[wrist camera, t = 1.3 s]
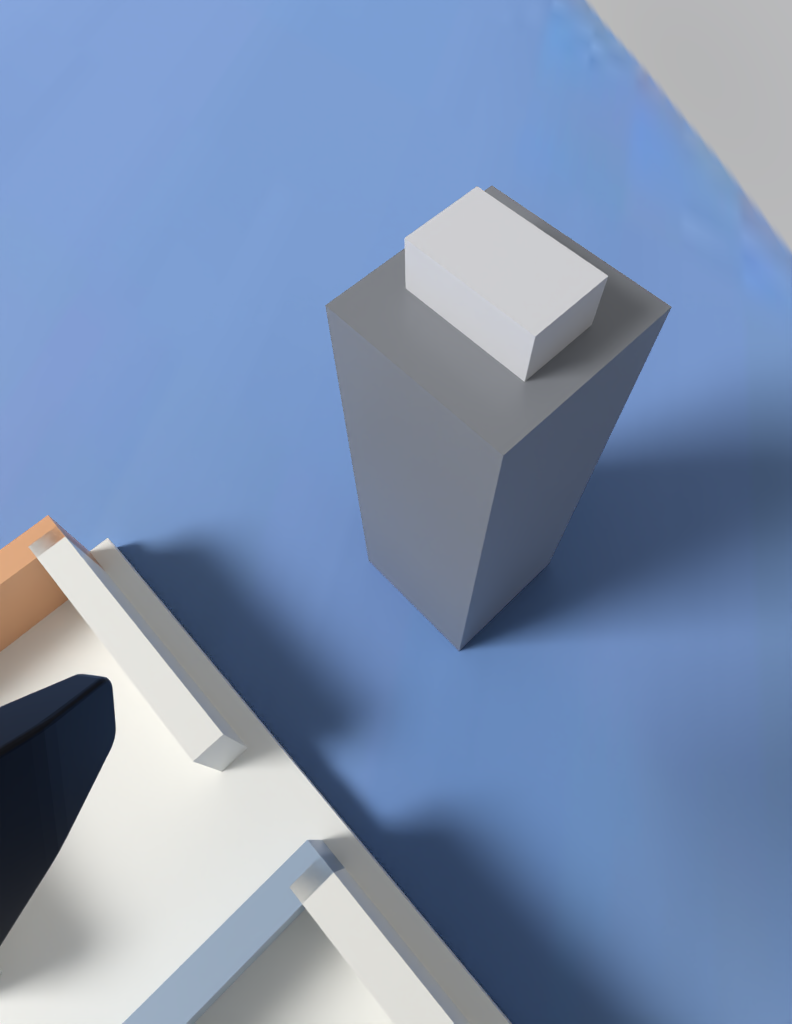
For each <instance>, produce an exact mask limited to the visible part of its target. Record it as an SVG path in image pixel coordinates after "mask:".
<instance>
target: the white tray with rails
mask: <svg viewBox="0 0 792 1024" xmlns="http://www.w3.org/2000/svg"><path fill="white" fill-rule="evenodd" d="M76 674H88V675H96V676H103V677H107V678H108V679H109V680H110V681H111V683H112V687H113V697H114V709H115V722H116V734H115V739H114V743H113V746H112V748H111V750H110V752H109V754H108V756H107V758H106V760H105V762H104V764H103V766H102V768H101V770H100V772H99V774H98V776H97V778H96V780H95V782H94V784H93V786H92V788H91V790H90V792H89V794H88V796H87V798H86V800H85V802H84V804H83V806H82V808H81V810H80V813H79V815H78V817H77V819H76V821H75V823H74V825H73V827H72V829H71V831H70V833H69V835H68V836H67V838H66V840H65V842H64V844H63V846H62V848H61V850H60V851H59V853H58V855H57V857H56V858H55V860H54V862H53V863H52V865H51V867H50V868H49V870H48V871H47V873H46V875H45V876H44V878H43V879H42V881H41V883H40V884H39V886H38V887H37V889H36V891H35V892H34V894H33V895H32V897H31V898H30V900H29V902H28V903H27V905H26V906H25V908H24V910H23V911H22V913H21V914H20V916H19V917H18V919H17V921H16V922H15V924H14V925H13V927H12V929H11V930H10V932H9V933H8V935H7V936H6V938H5V940H4V941H3V943H2V944H1V946H0V1024H512V1023H511V1022H510V1021H509V1019H508V1018H507V1017H506V1016H505V1015H504V1013H503V1012H502V1011H501V1010H500V1009H499V1007H498V1006H497V1005H496V1004H495V1002H494V1001H493V1000H492V999H491V998H490V996H489V995H488V994H487V993H486V992H485V990H484V989H483V988H482V987H481V986H480V984H479V983H478V982H477V981H476V980H475V978H474V977H473V976H472V975H471V974H470V972H469V971H468V970H467V969H466V968H465V966H464V965H463V964H462V963H461V961H460V960H459V959H458V958H457V957H456V955H455V954H454V953H453V952H452V951H451V949H450V948H449V947H448V946H447V945H446V943H445V942H444V941H443V940H442V939H441V937H440V936H439V935H438V934H437V933H436V931H435V930H434V929H433V928H432V927H431V925H430V924H429V923H428V922H427V920H426V919H425V918H424V917H423V916H422V914H421V913H420V912H419V911H418V910H417V908H416V907H415V906H414V905H413V904H412V902H411V901H410V900H409V899H408V898H407V896H406V895H405V894H404V893H403V892H402V890H401V889H400V888H399V887H398V886H397V884H396V883H395V882H394V881H393V879H392V878H391V877H390V876H389V875H388V873H387V872H386V871H385V870H384V869H383V867H382V866H381V865H380V864H379V863H378V861H377V860H376V859H375V858H374V857H373V855H372V854H371V853H370V852H369V851H368V849H367V848H366V847H365V846H364V845H363V843H362V842H361V841H360V840H359V838H358V837H357V836H356V835H355V834H354V832H353V831H352V830H351V829H350V828H349V826H348V825H347V824H346V823H345V822H344V820H343V819H342V818H341V817H340V816H339V814H338V813H337V812H336V811H335V810H334V808H333V807H332V806H331V805H330V804H329V802H328V801H327V800H326V799H325V797H324V796H323V795H322V794H321V793H320V791H319V790H318V789H317V788H316V787H315V785H314V784H313V783H312V782H311V781H310V779H309V778H308V777H307V776H306V775H305V773H304V772H303V771H302V770H301V769H300V767H299V766H298V765H297V764H296V763H295V761H294V760H293V759H292V758H291V756H290V755H289V754H288V753H287V752H286V750H285V749H284V748H283V747H282V746H281V744H280V743H279V742H278V741H277V740H276V738H275V737H274V736H273V735H272V734H271V732H270V731H269V730H268V729H267V728H266V726H265V725H264V724H263V723H262V722H261V720H260V719H259V718H258V717H257V716H256V714H255V713H254V712H253V711H252V709H251V708H250V707H249V706H248V705H247V703H246V702H245V701H244V700H243V699H242V697H241V696H240V695H239V694H238V693H237V691H236V690H235V689H234V688H233V687H232V685H231V684H230V683H229V682H228V681H227V679H226V678H225V677H224V676H223V675H222V673H221V672H220V671H219V670H218V668H217V667H216V666H215V665H214V664H213V662H212V661H211V660H210V659H209V658H208V656H207V655H206V654H205V653H204V652H203V650H202V649H201V648H200V647H199V646H198V644H197V643H196V642H195V641H194V640H193V638H192V637H191V636H190V635H189V634H188V632H187V631H186V630H185V629H184V627H183V626H182V625H181V624H180V623H179V621H178V620H177V619H176V618H175V617H174V615H173V614H172V613H171V612H170V611H169V609H168V608H167V607H166V606H165V605H164V603H163V602H162V601H161V600H160V599H159V597H158V596H157V595H156V594H155V593H154V591H153V590H152V589H151V588H150V586H149V585H148V584H147V583H146V582H145V580H144V579H143V578H142V577H141V576H140V574H139V573H138V572H137V571H136V570H135V568H134V567H133V566H132V565H131V564H130V562H129V561H128V560H127V559H126V558H125V556H124V555H123V554H122V553H121V552H120V550H119V549H118V548H117V547H116V546H115V545H114V544H113V543H112V542H111V541H110V540H109V539H108V538H107V539H106V540H104V541H103V542H102V543H100V544H99V545H98V546H96V547H95V548H94V549H92V550H91V551H90V552H89V551H88V550H87V549H86V548H85V547H84V546H83V545H81V544H80V543H79V542H78V541H77V540H76V539H75V538H73V537H72V536H71V535H70V534H69V533H68V532H67V531H66V530H64V529H63V528H62V527H61V526H60V525H59V524H58V523H57V522H55V521H54V520H53V519H52V518H51V517H50V516H49V515H48V516H46V517H45V518H44V519H42V520H41V521H40V522H38V523H37V524H35V525H34V526H33V527H31V528H30V529H28V530H27V531H26V532H24V533H23V534H22V535H20V536H19V537H17V538H16V539H15V540H13V541H12V542H11V543H9V544H8V545H6V546H5V547H4V548H2V549H1V550H0V707H1V706H3V705H5V704H8V703H10V702H12V701H15V700H17V699H19V698H22V697H24V696H27V695H29V694H31V693H34V692H36V691H38V690H41V689H43V688H45V687H48V686H50V685H52V684H55V683H57V682H60V681H62V680H64V679H67V678H69V677H71V676H74V675H76Z"/></svg>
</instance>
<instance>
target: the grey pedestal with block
mask: <svg viewBox="0 0 792 1024" xmlns="http://www.w3.org/2000/svg"><path fill="white" fill-rule="evenodd" d="M325 306H326V312H327V317H328V323H329V329H330V335H331V341H332V347H333V353H334V359H335V365H336V370H337V376H338V382H339V388H340V394H341V400H342V406H343V412H344V418H345V423H346V429H347V435H348V441H349V447H350V453H351V459H352V465H353V471H354V476H355V482H356V488H357V494H358V500H359V506H360V512H361V518H362V524H363V529H364V535H365V541H366V547H367V553H368V559H369V561H370V562H371V563H372V564H373V565H374V566H375V567H376V568H377V569H378V570H379V571H380V572H381V573H382V574H383V575H384V576H385V577H386V578H387V579H388V580H389V581H390V582H391V583H392V584H393V585H394V586H395V587H396V588H397V589H398V590H399V591H400V592H401V593H402V594H403V595H404V596H405V597H406V598H407V599H408V600H409V601H410V602H411V603H412V604H413V605H414V606H415V607H416V608H417V609H418V610H419V611H420V612H421V613H422V614H423V615H424V616H425V617H426V618H427V619H428V620H429V621H430V622H431V623H432V624H433V625H434V626H435V627H436V628H437V629H438V630H439V631H440V632H441V633H442V634H443V635H444V636H445V637H446V638H447V639H448V640H449V641H450V642H451V643H452V644H453V645H454V646H455V647H456V648H457V649H458V650H459V651H460V650H461V649H462V648H463V647H464V646H465V645H466V644H467V643H468V642H469V641H470V640H471V639H472V638H473V637H474V636H475V635H476V634H477V633H478V632H479V631H480V630H481V629H482V628H483V627H484V626H485V625H486V624H488V623H489V622H490V621H491V620H492V619H493V618H494V617H495V616H496V615H497V614H498V613H499V612H500V611H501V610H502V609H503V608H504V607H505V606H506V605H507V604H508V603H509V602H510V601H511V600H512V599H513V598H514V597H515V596H516V595H517V594H518V593H519V592H520V591H521V590H522V589H524V588H525V587H526V586H527V585H528V584H529V583H530V582H531V581H532V580H533V579H534V578H535V577H536V576H537V575H538V574H539V573H540V572H541V571H542V570H543V569H544V568H545V567H546V566H547V565H548V564H549V562H550V560H551V558H552V556H553V554H554V552H555V550H556V548H557V546H558V544H559V541H560V539H561V537H562V535H563V533H564V531H565V529H566V527H567V525H568V523H569V521H570V518H571V516H572V514H573V512H574V510H575V508H576V506H577V504H578V502H579V500H580V498H581V495H582V493H583V491H584V489H585V487H586V485H587V483H588V481H589V479H590V477H591V475H592V472H593V470H594V468H595V466H596V464H597V462H598V460H599V458H600V456H601V454H602V452H603V449H604V447H605V445H606V443H607V441H608V439H609V437H610V435H611V433H612V431H613V428H614V426H615V424H616V422H617V420H618V418H619V416H620V414H621V412H622V410H623V408H624V405H625V403H626V401H627V399H628V397H629V395H630V393H631V391H632V389H633V387H634V385H635V382H636V380H637V378H638V376H639V374H640V372H641V370H642V368H643V366H644V364H645V362H646V359H647V357H648V355H649V353H650V351H651V349H652V347H653V345H654V343H655V341H656V339H657V336H658V334H659V332H660V330H661V328H662V326H663V324H664V322H665V320H666V318H667V315H668V313H669V311H670V309H671V306H669V305H668V304H666V303H665V302H663V301H662V300H660V299H659V298H657V297H656V296H655V295H653V294H652V293H650V292H649V291H647V290H646V289H644V288H643V287H641V286H640V285H638V284H637V283H635V282H634V281H632V280H631V279H629V278H628V277H626V276H625V275H623V274H622V273H621V272H619V271H618V270H616V269H615V268H613V267H612V266H610V265H609V264H607V263H606V262H604V261H603V260H601V259H600V258H598V257H597V256H595V255H594V254H592V253H591V252H589V251H588V250H586V249H585V248H584V247H582V246H581V245H579V244H578V243H576V242H575V241H573V240H572V239H570V238H569V237H567V236H566V235H564V234H563V233H561V232H560V231H558V230H557V229H555V228H554V227H552V226H551V225H549V224H548V223H547V222H545V221H544V220H542V219H541V218H539V217H538V216H536V215H535V214H533V213H532V212H530V211H529V210H527V209H526V208H524V207H523V206H521V205H520V204H518V203H517V202H515V201H514V200H512V199H511V198H510V197H508V196H507V195H505V194H504V193H502V192H501V191H499V190H498V189H496V188H495V187H493V186H490V187H489V188H488V189H486V190H485V191H483V190H482V189H480V188H479V187H476V188H474V189H473V190H471V191H470V192H469V193H467V194H466V195H464V196H463V197H462V198H460V199H459V200H457V201H456V202H455V203H453V204H452V205H450V206H449V207H448V208H446V209H445V210H443V211H442V212H441V213H439V214H438V215H436V216H435V217H434V218H432V219H431V220H429V221H428V222H427V223H425V224H424V225H422V226H421V227H420V228H418V229H417V230H415V231H414V232H413V233H411V234H410V235H408V236H407V237H406V238H405V248H404V249H403V250H402V251H400V252H399V253H398V254H396V255H395V256H393V257H392V258H391V259H389V260H388V261H386V262H385V263H384V264H382V265H381V266H379V267H378V268H377V269H375V270H374V271H373V272H371V273H370V274H368V275H367V276H366V277H364V278H363V279H361V280H360V281H359V282H357V283H356V284H354V285H353V286H352V287H350V288H349V289H348V290H346V291H345V292H343V293H342V294H341V295H339V296H338V297H336V298H335V299H334V300H332V301H331V302H330V303H328V304H327V305H325Z"/></svg>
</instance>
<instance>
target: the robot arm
mask: <svg viewBox="0 0 792 1024" xmlns="http://www.w3.org/2000/svg"><path fill="white" fill-rule="evenodd" d="M115 734H116V722H115V709H114V697H113V687H112V683H111V681H110V680H109V679H108V678H107V677H103V676H96V675H88V674H76V675H74V676H71V677H69V678H67V679H64V680H62V681H60V682H57V683H55V684H52V685H50V686H48V687H45V688H43V689H41V690H38V691H36V692H34V693H31V694H29V695H27V696H24V697H22V698H19V699H17V700H15V701H12V702H10V703H8V704H5V705H3V706H1V707H0V946H1V944H2V943H3V941H4V940H5V938H6V936H7V935H8V933H9V932H10V930H11V929H12V927H13V925H14V924H15V922H16V921H17V919H18V917H19V916H20V914H21V913H22V911H23V910H24V908H25V906H26V905H27V903H28V902H29V900H30V898H31V897H32V895H33V894H34V892H35V891H36V889H37V887H38V886H39V884H40V883H41V881H42V879H43V878H44V876H45V875H46V873H47V871H48V870H49V868H50V867H51V865H52V863H53V862H54V860H55V858H56V857H57V855H58V853H59V851H60V850H61V848H62V846H63V844H64V842H65V840H66V838H67V836H68V835H69V833H70V831H71V829H72V827H73V825H74V823H75V821H76V819H77V817H78V815H79V813H80V810H81V808H82V806H83V804H84V802H85V800H86V798H87V796H88V794H89V792H90V790H91V788H92V786H93V784H94V782H95V780H96V778H97V776H98V774H99V772H100V770H101V768H102V766H103V764H104V762H105V760H106V758H107V756H108V754H109V752H110V750H111V748H112V746H113V743H114V739H115Z"/></svg>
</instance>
